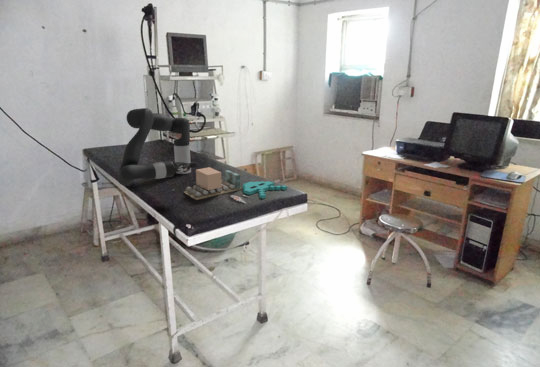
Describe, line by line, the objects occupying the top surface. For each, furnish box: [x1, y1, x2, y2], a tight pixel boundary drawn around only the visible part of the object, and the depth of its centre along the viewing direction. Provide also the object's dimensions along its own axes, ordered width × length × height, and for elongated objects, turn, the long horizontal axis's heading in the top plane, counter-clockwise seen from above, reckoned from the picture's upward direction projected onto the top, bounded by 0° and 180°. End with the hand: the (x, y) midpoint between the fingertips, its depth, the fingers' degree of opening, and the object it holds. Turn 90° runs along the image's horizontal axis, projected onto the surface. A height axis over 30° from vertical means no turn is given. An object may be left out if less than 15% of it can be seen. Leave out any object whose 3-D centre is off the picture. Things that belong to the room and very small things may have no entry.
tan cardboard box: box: [195, 166, 223, 190], centre depth 191 cm, size 12×8×8 cm, turn 39°
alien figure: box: [242, 180, 288, 200], centre depth 198 cm, size 20×2×20 cm
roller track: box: [183, 169, 243, 201], centre depth 193 cm, size 13×27×8 cm, turn 129°
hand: (195, 164), depth 184 cm, fingers closed
